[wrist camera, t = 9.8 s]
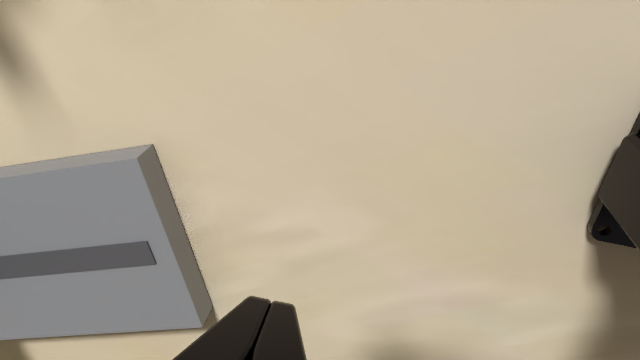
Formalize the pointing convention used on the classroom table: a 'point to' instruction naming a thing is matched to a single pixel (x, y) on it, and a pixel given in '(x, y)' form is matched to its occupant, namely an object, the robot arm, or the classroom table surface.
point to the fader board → (94, 249)
